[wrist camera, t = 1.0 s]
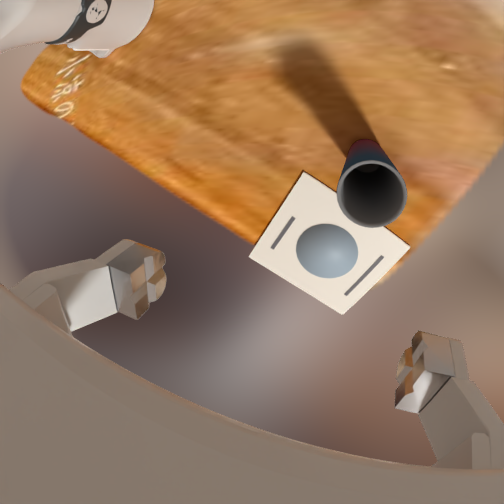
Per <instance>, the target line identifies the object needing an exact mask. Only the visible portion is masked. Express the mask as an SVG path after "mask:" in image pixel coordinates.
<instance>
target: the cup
mask: <svg viewBox="0 0 504 504" xmlns="http://www.w3.org/2000/svg"><path fill="white" fill-rule="evenodd" d="M406 200H407V189H406V185H405V182H404V180H403V178H402V176H401V175H400V173H399V172H398V170H397V169H396V167H395V166H394V165H393V163H392V162H391V160H390V159H389V158H388V156H387V155H386V154H385V152H384V151H383V149H382V148H381V147H380V146H379V144H377V143H376V142H374V141H373V140H369V139H361V140H358V141H357V142H355V143H354V144H353V145H352V146H351V148H350V150H349V153H348V156H347V159H346V162H345V165H344V168H343V170H342V173H341V176H340V179H339V182H338V186H337V201H338V204H339V207H340V209H341V210H342V212H343V214H344V215H345V216H346V217H347V218H348V219H349V220H351V221H352V222H353V223H355V224H357V225H359V226H363V227H368V228H378V227H382V226H386V225H388V224H390V223H392V222H393V221H394V220H396V219H397V218H398V217H399V215H400V214H401V213H402V211H403V209H404V207H405V204H406Z"/></svg>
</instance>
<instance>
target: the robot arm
mask: <svg viewBox="0 0 504 504" xmlns="http://www.w3.org/2000/svg"><path fill="white" fill-rule="evenodd" d="M153 6H154V0H0V54H1V53H3V52H5V51H8V50H11V49H14V48H18V47H22V46H26V45H31V44H37V43H43V42H44V43H46V44H55V45H57V44H67V47H69V48H73V50H76V51H84V50H89V51H90V52H92V53H93V54H94V55H96V56H97V57H99V58H105V57H107V56H108V55H109V54H110V53H111V52H112V51H113V50H114V49H116V48H118V47H120V46H123V45H125V44H127V43H129V42H130V41H132V40H133V39H134V38H135V37H137V36H138V35H139V34H140V32H141V31H142V30H143V29H144V27H145V26H146V24H147V22H148V20H149V18H150V16H151V13H152V10H153ZM164 264H165V254H163V252H162V251H159V250H156V249H154V248H151V247H148V246H145V245H143V244H140V243H137V242H134V241H132V240H129V239H123V240H122V241H121V242H119V243H118V244H116V245H115V246H113V247H112V248H110V249H109V250H108V251H106V252H105V253H103V254H102V255H100V256H99V257H98V258H96V259H95V260H93V259H87V260H83V261H79V262H74V263H70V264H66V265H61V266H57V267H53V268H48V269H44V270H40V271H36V272H32V273H31V274H30V275H28V276H27V277H26V278H24V279H23V280H21V281H20V282H19V283H17V284H16V285H15V286H13V287H12V288H11V289H9V290H8V289H7V288H6V287H5V286H4V285H2V284H1V283H0V504H504V424H503V422H502V421H501V419H500V418H499V416H498V415H497V413H496V412H495V411H494V409H493V408H492V406H491V405H490V403H489V402H488V401H487V399H486V398H485V397H484V395H483V394H482V392H481V391H480V390H479V388H478V387H477V386H476V384H475V383H474V382H473V381H470V380H469V374H468V369H467V363H466V358H465V353H464V349H463V344H462V342H461V341H460V340H456V339H452V338H448V337H447V338H446V337H442V336H438V335H434V334H430V333H426V332H422V331H418V332H417V333H415V335H414V337H413V338H412V347H410V348H408V349H406V350H405V351H404V353H403V355H402V356H401V358H400V361H399V364H398V368H397V372H396V380H397V381H398V383H399V384H400V385H399V386H398V388H397V389H396V391H395V408H396V409H400V410H405V411H409V412H414V413H418V416H419V418H420V421H421V423H422V425H423V427H424V430H425V432H426V434H427V437H428V439H429V441H430V443H431V446H432V449H433V451H434V453H435V456H436V458H437V461H438V462H437V463H435V464H434V465H432V466H431V467H428V466H418V465H409V464H402V463H395V462H389V461H382V460H377V459H371V458H366V457H361V456H356V455H351V454H346V453H342V452H338V451H333V450H329V449H325V448H321V447H318V446H313V445H310V444H306V443H303V442H299V441H296V440H293V439H289V438H286V437H283V436H279V435H276V434H273V433H270V432H267V431H264V430H261V429H258V428H255V427H252V426H249V425H247V424H244V423H241V422H239V421H236V420H234V419H231V418H228V417H226V416H223V415H220V414H218V413H216V412H213V411H211V410H209V409H206V408H204V407H201V406H199V405H197V404H195V403H192V402H190V401H188V400H186V399H184V398H181V397H179V396H177V395H175V394H173V393H171V392H169V391H167V390H165V389H163V388H161V387H159V386H157V385H155V384H153V383H151V382H148V381H147V380H145V379H143V378H141V377H139V376H137V375H135V374H133V373H132V372H129V371H128V370H126V369H124V368H122V367H121V366H119V365H117V364H116V363H114V362H112V361H110V360H109V359H107V358H105V357H103V356H102V355H100V354H99V353H97V352H95V351H94V350H92V349H90V348H89V347H87V346H86V345H84V344H83V343H81V342H80V341H78V340H76V339H75V338H73V336H72V333H71V331H74V330H76V329H78V328H81V327H83V326H86V325H88V324H90V323H93V322H95V321H98V320H100V319H103V318H105V317H107V316H110V315H112V314H115V313H117V311H118V312H120V313H122V314H125V315H127V316H129V317H131V318H134V319H136V320H138V319H139V318H140V317H141V316H142V315H143V314H144V313H145V312H146V311H147V310H148V309H149V302H152V301H156V300H157V299H158V298H159V297H160V296H161V295H162V293H163V290H164V288H165V285H166V274H165V272H164V270H163V269H162V267H163V266H164Z"/></svg>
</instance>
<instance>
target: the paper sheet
mask: <svg viewBox="0 0 504 504" xmlns="http://www.w3.org/2000/svg"><path fill="white" fill-rule="evenodd" d="M409 248H410V246H409V245H408V244H406V243H405V242H404V241H403V240H401V239H400V238H399V237H397V236H396V235H395V234H393V233H392V232H391V231H389V230H388V229H387V228H385V227H384V226H382V227H378V228H368V227H363V226H359V225H357V224H355V223H353V222H352V221H351V220H349V219H348V218H347V217H346V216H345V215H344V214H343V212H342V210H341V209H340V207H339V204H338V201H337V193H336V192H335V191H333V190H332V189H330V188H329V187H327V186H326V185H324V184H323V183H321V182H320V181H318V180H317V179H315V178H313V177H312V176H310V175H309V174H307V173H306V172H303V174H302V175H301V177H300V178H299V180H298V181H297V183H296V185H295V186H294V188H293V189H292V191H291V192H290V194H289V195H288V197H287V198H286V200H285V201H284V203H283V204H282V206H281V208H280V209H279V211H278V212H277V214H276V215H275V217H274V218H273V220H272V221H271V223H270V224H269V226H268V227H267V229H266V231H265V232H264V234H263V235H262V237H261V238H260V240H259V241H258V243H257V244H256V246H255V247H254V249H253V251H252V252H251V254H250V255H249V257H250V258H251V259H253V260H255V261H256V262H258V263H259V264H261V265H263V266H264V267H266V268H268V269H269V270H271V271H272V272H274V273H276V274H277V275H279V276H280V277H282V278H284V279H285V280H287V281H288V282H290V283H292V284H293V285H295V286H297V287H298V288H300V289H301V290H303V291H305V292H306V293H308V294H309V295H311V296H313V297H314V298H316V299H318V300H319V301H321V302H323V303H324V304H326V305H327V306H329V307H331V308H332V309H334V310H335V311H337V312H338V313H340V314H342V315H343V314H344V313H345V312H346V311H347V310H348V309H349V308H350V307H352V306H353V305H354V304H355V303H356V302H357V301H358V300H359V299H360V298H361V297H362V296H363V295H364V294H365V293H366V292H367V291H368V290H369V289H370V288H371V287H372V286H373V285H374V284H376V283H377V282H378V281H379V280H380V279H381V278H382V277H383V275H384V274H385V273H386V272H387V271H388V270H389V269H390V268H391V267H392V266H393V265H394V264H395V263H396V262H397V261H398V260H399V259H400V258H401V257H402V256H403V255H404V254H405V253H406V252H407V251H408V249H409Z"/></svg>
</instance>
